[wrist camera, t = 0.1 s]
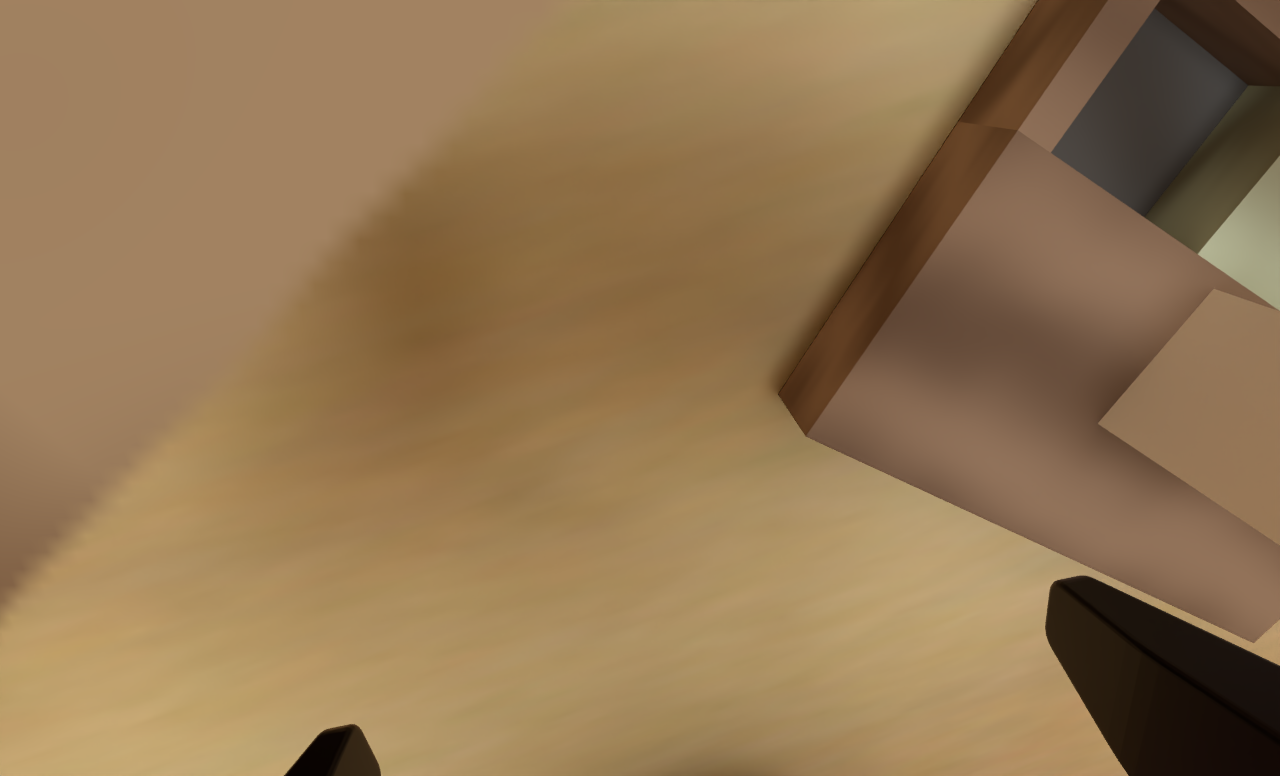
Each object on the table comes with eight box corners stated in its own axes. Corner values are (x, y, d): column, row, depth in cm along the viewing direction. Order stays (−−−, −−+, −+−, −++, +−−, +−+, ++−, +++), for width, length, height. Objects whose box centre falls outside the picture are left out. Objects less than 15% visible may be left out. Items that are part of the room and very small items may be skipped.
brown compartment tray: (1191, 591, 30) (1253, 643, 27) (778, 394, 24) (805, 436, 21) (1517, 270, 25) (1634, 295, 22) (1096, -88, 19) (1187, -114, 16)
